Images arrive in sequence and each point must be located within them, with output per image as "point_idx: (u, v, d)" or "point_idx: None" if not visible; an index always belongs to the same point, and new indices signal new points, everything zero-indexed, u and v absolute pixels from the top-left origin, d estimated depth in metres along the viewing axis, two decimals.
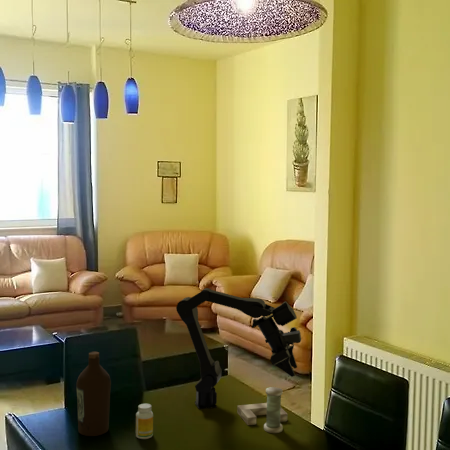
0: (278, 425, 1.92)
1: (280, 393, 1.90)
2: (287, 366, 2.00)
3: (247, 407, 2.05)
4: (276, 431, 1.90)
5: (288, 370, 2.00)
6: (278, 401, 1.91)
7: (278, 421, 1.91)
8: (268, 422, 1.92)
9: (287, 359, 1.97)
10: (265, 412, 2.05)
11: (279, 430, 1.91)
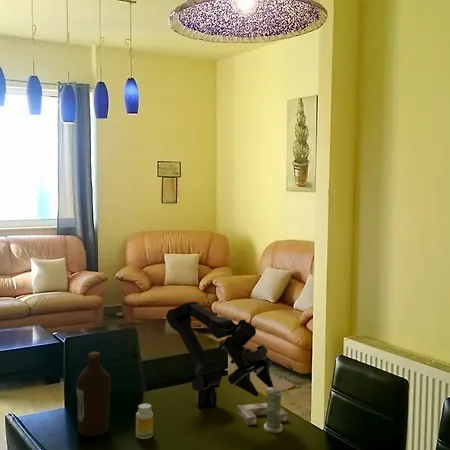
0: (278, 425, 1.92)
1: (280, 393, 1.90)
2: (248, 386, 1.91)
3: (247, 407, 2.05)
4: (276, 431, 1.90)
5: (250, 390, 1.91)
6: (278, 401, 1.91)
7: (278, 421, 1.91)
8: (268, 422, 1.92)
9: (243, 378, 1.89)
10: (265, 412, 2.05)
11: (279, 430, 1.91)
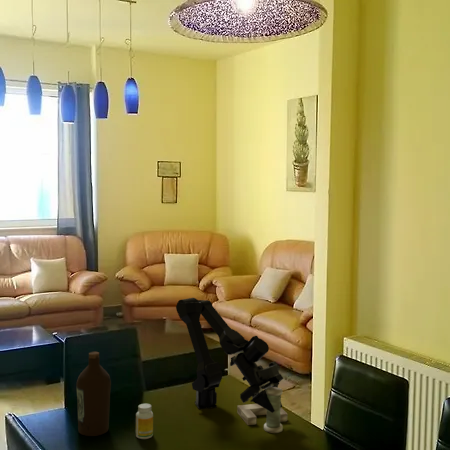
0: (278, 425, 1.92)
1: (280, 393, 1.90)
2: (264, 401, 1.90)
3: (247, 407, 2.05)
4: (276, 431, 1.90)
5: (266, 406, 1.91)
6: (278, 401, 1.91)
7: (278, 421, 1.91)
8: (268, 422, 1.92)
9: (259, 394, 1.89)
10: (265, 412, 2.05)
11: (279, 430, 1.91)
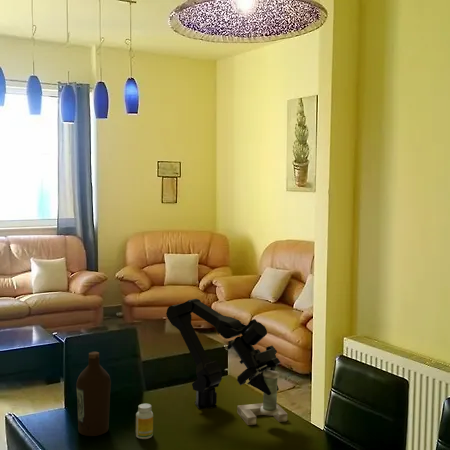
0: (274, 408, 1.94)
1: (276, 377, 1.93)
2: (261, 384, 1.93)
3: (247, 407, 2.05)
4: (272, 413, 1.93)
5: (263, 389, 1.93)
6: (275, 384, 1.93)
7: (274, 404, 1.94)
8: (264, 405, 1.94)
9: (256, 377, 1.91)
10: None
11: (275, 413, 1.93)
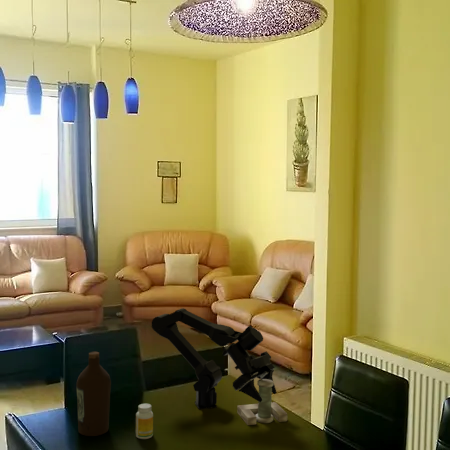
0: (269, 415, 1.99)
1: (271, 385, 1.98)
2: (252, 391, 1.96)
3: (247, 407, 2.05)
4: (267, 421, 1.98)
5: (254, 396, 1.96)
6: (269, 392, 1.99)
7: (269, 412, 1.99)
8: (259, 412, 1.99)
9: (247, 384, 1.94)
10: None
11: (270, 420, 1.99)
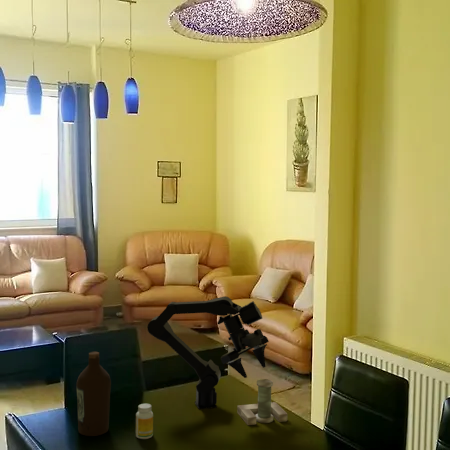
0: (269, 415, 1.99)
1: (270, 385, 1.98)
2: (238, 367, 2.03)
3: (247, 407, 2.05)
4: (267, 421, 1.98)
5: (240, 371, 2.04)
6: (269, 392, 1.99)
7: (269, 411, 1.99)
8: (259, 412, 1.99)
9: (234, 362, 2.01)
10: None
11: (270, 420, 1.99)
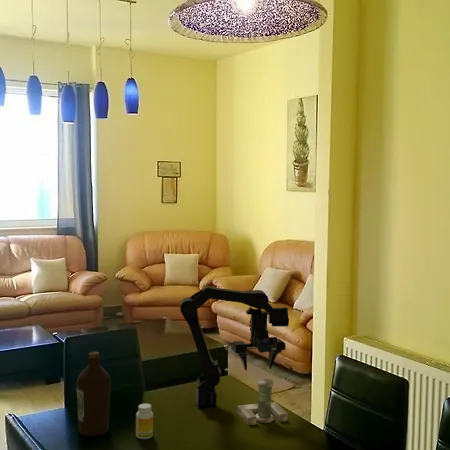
0: (269, 415, 1.99)
1: (271, 385, 1.98)
2: (242, 359, 2.11)
3: (247, 407, 2.05)
4: (267, 421, 1.98)
5: (243, 363, 2.12)
6: (269, 392, 1.99)
7: (269, 411, 1.99)
8: (259, 412, 1.99)
9: (238, 354, 2.08)
10: None
11: (270, 420, 1.99)
